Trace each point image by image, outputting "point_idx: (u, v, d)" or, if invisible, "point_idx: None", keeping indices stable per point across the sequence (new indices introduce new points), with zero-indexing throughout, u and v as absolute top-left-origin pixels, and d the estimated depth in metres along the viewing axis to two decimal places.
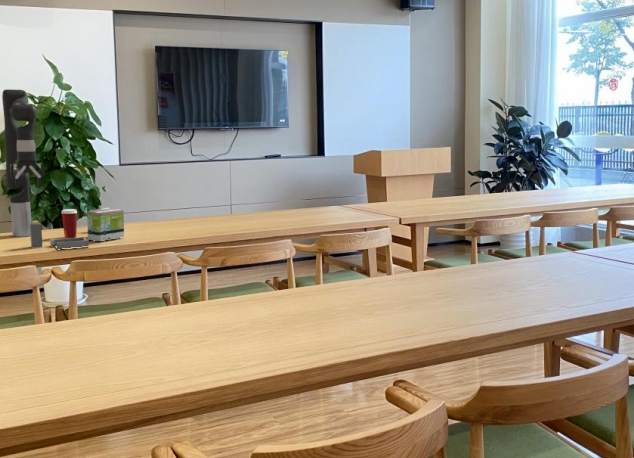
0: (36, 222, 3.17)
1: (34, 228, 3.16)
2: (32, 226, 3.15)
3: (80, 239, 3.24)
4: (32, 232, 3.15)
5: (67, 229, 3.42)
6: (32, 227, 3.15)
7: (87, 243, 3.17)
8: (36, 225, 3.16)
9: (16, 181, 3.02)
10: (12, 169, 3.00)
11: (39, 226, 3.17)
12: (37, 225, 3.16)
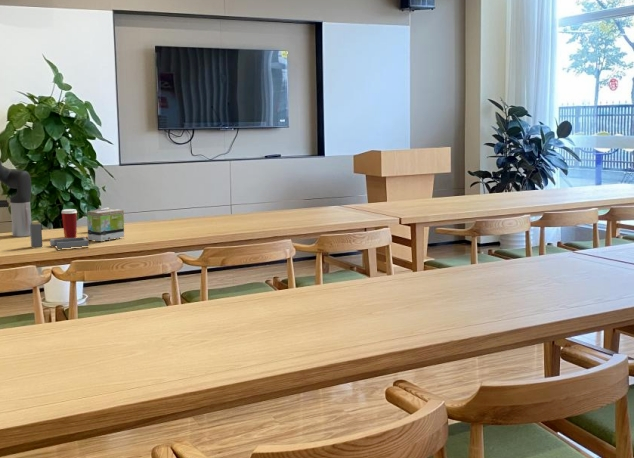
0: (36, 222, 3.17)
1: (34, 228, 3.16)
2: (32, 226, 3.15)
3: (80, 239, 3.24)
4: (32, 232, 3.15)
5: (67, 229, 3.42)
6: (32, 227, 3.15)
7: (87, 243, 3.17)
8: (36, 225, 3.16)
9: None
10: None
11: (39, 226, 3.17)
12: (37, 225, 3.16)
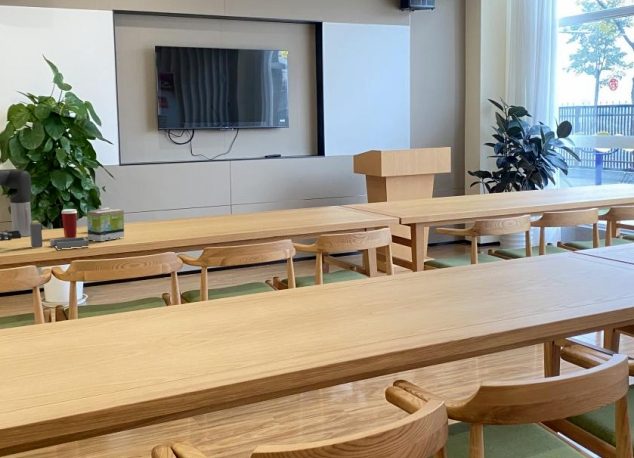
0: (36, 222, 3.17)
1: (34, 228, 3.16)
2: (32, 226, 3.15)
3: (80, 239, 3.24)
4: (32, 232, 3.16)
5: (67, 229, 3.42)
6: (32, 227, 3.15)
7: (87, 243, 3.17)
8: (36, 225, 3.16)
9: None
10: None
11: (39, 226, 3.17)
12: (37, 225, 3.16)
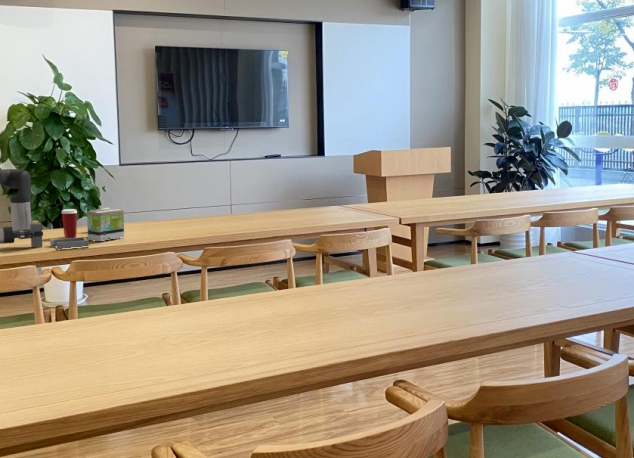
0: (36, 222, 3.17)
1: (34, 228, 3.16)
2: (32, 226, 3.15)
3: (80, 239, 3.24)
4: None
5: (67, 229, 3.42)
6: (32, 227, 3.15)
7: (87, 243, 3.17)
8: (36, 225, 3.16)
9: None
10: None
11: (39, 226, 3.17)
12: (37, 225, 3.16)
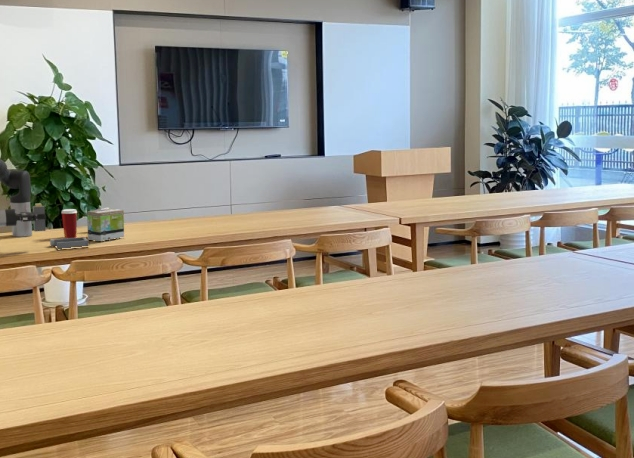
0: (39, 205, 3.09)
1: (37, 211, 3.08)
2: (35, 208, 3.07)
3: (80, 239, 3.24)
4: None
5: (67, 229, 3.42)
6: (35, 210, 3.07)
7: (87, 243, 3.17)
8: (39, 208, 3.08)
9: None
10: None
11: (42, 209, 3.08)
12: (40, 207, 3.08)
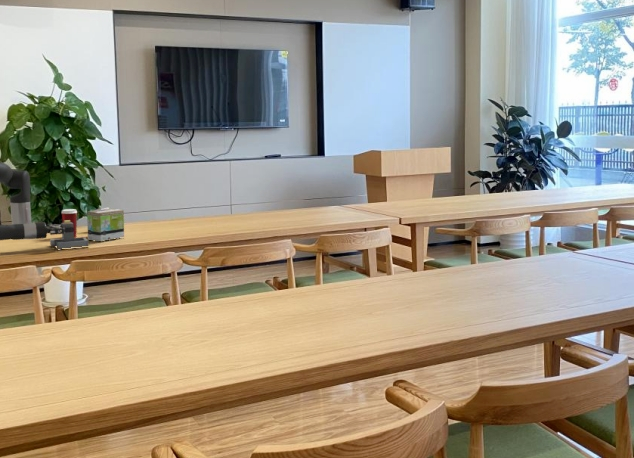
0: (68, 221, 3.16)
1: (66, 227, 3.15)
2: (64, 225, 3.14)
3: (80, 239, 3.24)
4: None
5: None
6: (64, 226, 3.14)
7: (87, 243, 3.17)
8: (68, 224, 3.15)
9: None
10: None
11: (71, 225, 3.16)
12: (69, 224, 3.15)
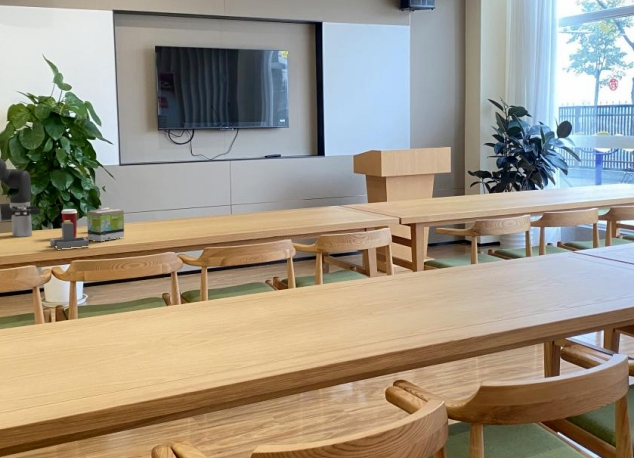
0: (68, 221, 3.16)
1: (66, 227, 3.15)
2: (64, 225, 3.14)
3: (80, 239, 3.24)
4: (64, 231, 3.14)
5: None
6: (64, 226, 3.14)
7: (87, 243, 3.17)
8: (68, 224, 3.15)
9: (31, 209, 3.13)
10: None
11: (71, 225, 3.16)
12: (69, 224, 3.15)
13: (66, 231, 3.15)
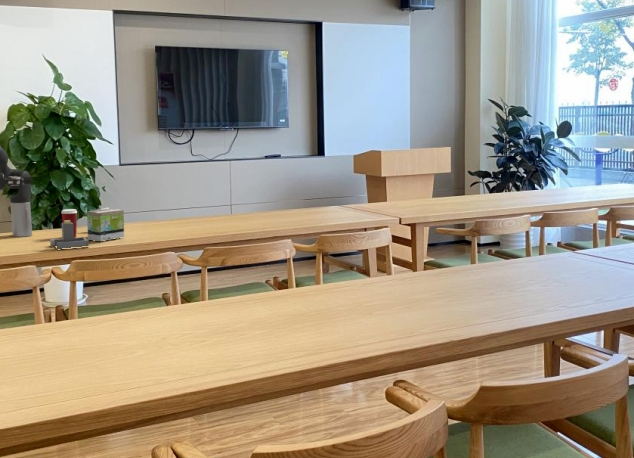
0: (68, 221, 3.16)
1: (66, 227, 3.15)
2: (64, 225, 3.14)
3: (80, 239, 3.24)
4: (64, 231, 3.14)
5: None
6: (64, 226, 3.14)
7: (87, 243, 3.17)
8: (68, 224, 3.15)
9: None
10: None
11: (71, 225, 3.16)
12: (69, 224, 3.15)
13: (66, 231, 3.15)
